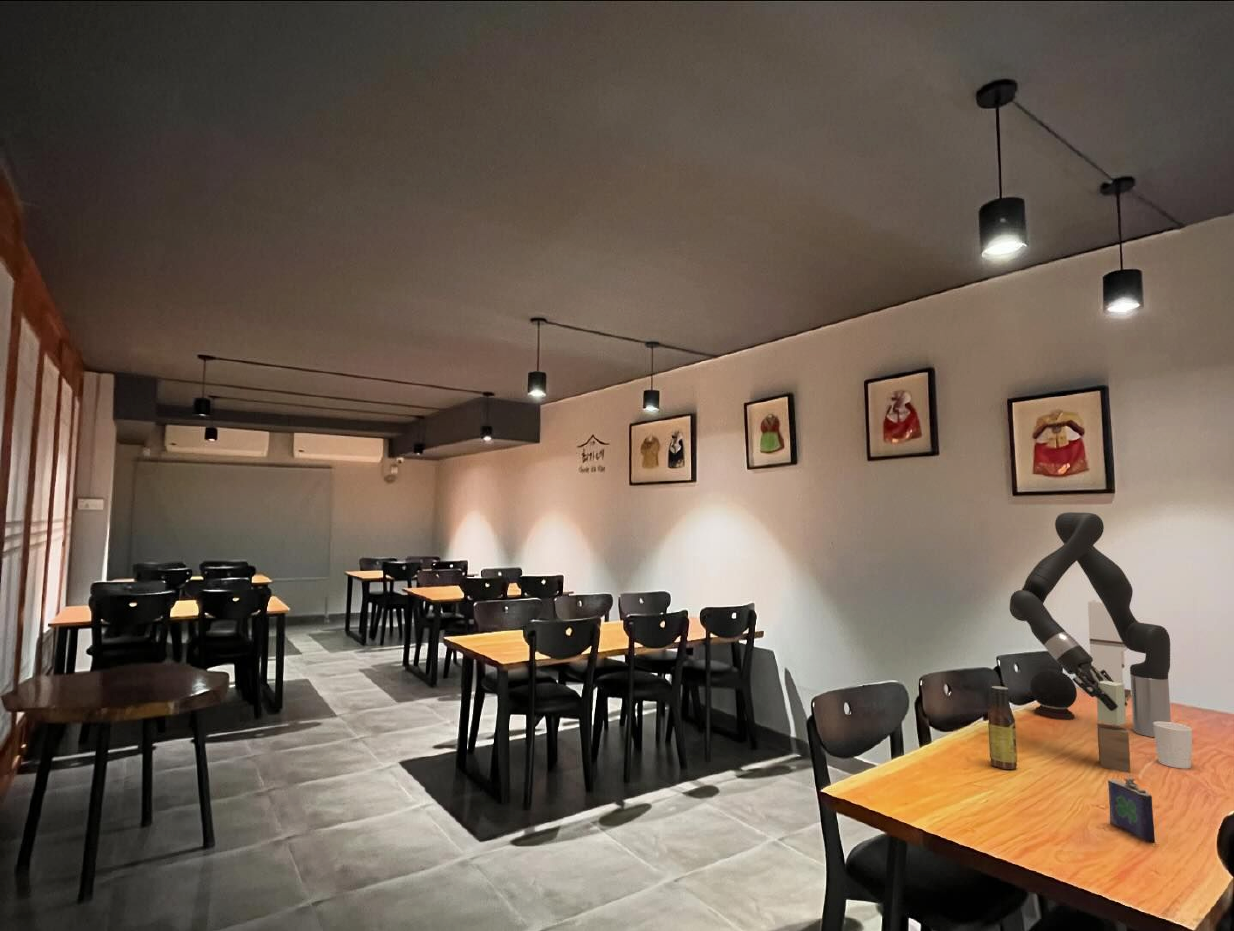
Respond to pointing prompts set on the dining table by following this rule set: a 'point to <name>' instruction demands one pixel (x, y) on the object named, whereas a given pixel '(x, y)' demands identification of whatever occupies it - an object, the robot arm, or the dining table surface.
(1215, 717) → the dining table surface
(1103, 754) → the tower lower
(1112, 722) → the sage block
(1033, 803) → the dining table surface
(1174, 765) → the white cup
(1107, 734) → the tower upper
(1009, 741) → the sauce bottle
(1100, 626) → the mini white fridge
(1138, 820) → the flask
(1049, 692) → the black oval
